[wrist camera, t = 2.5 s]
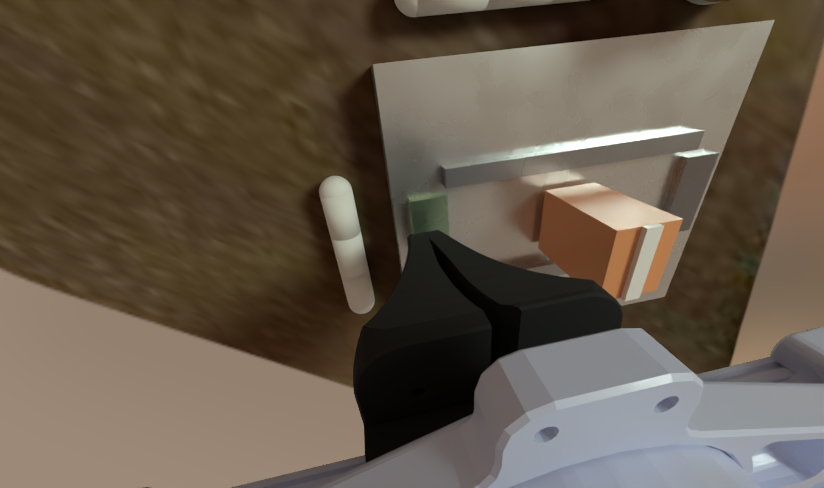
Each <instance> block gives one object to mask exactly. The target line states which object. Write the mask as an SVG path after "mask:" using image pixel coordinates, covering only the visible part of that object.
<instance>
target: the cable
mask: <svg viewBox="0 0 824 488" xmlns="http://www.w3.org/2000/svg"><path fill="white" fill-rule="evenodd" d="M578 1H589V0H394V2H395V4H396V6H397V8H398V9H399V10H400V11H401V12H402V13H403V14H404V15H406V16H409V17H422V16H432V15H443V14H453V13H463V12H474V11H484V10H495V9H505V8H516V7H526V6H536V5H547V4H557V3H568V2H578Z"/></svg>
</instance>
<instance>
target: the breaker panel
mask: <svg viewBox="0 0 824 488" xmlns="http://www.w3.org/2000/svg"><path fill="white" fill-rule="evenodd" d="M774 21H775V20H769V21H760V22H751V23H742V24H733V25H724V26H715V27H706V28H697V29H688V30H679V31H670V32H661V33H652V34H642V35H633V36H624V37H615V38H606V39H597V40H588V41H579V42H570V43H561V44H552V45H543V46H534V47H525V48H516V49H507V50H498V51H489V52H480V53H471V54H462V55H452V56H443V57H434V58H425V59H416V60H407V61H398V62H389V63H380V64H373V65H372V66H371V72H372V79H373V86H374V93H375V99H376V106H377V113H378V120H379V127H380V134H381V141H382V148H383V155H384V161H385V168H386V175H387V182H388V189H389V196H390V203H391V210H392V217H393V223H394V230H395V237H396V244H397V251H398V258H399V265H400V272H401V274H402V272H403V268H404V265H405V262H406V258H407V253H408V243H407V237H408V236H409V235H411V234H416V233H422V232H428V231H434V230H440V231H441V232H443V233H445V234H446V235H448V236H450V237H451V238H453V239H455V240H456V241H458V242H460V243H461V244H463V245H465V246H467V247H468V248H470V249H472V250H474V251H476V252H478V253H480V254H482V255H485V256H487V257H489V258H492V259H494V260H497V261H500V262H502V263H505V264H508V265H511V266H515V267H518V268H522V269H526V270H530V271H534V272H539V273H544V274H549V275H555V276H561V277H569V276H568V275H567V274H566V273H565V272H564V271H563V270H562V269H561V268H559V267H558V266H557V265H556V264H555V263H554V262H553V261H552V260H551V259H549V258H548V257H547V256H546V255H545V254H544V253H543V252H542V251H541V250H539V249H538V245H539V237H540V229H541V220H542V212H543V204H544V196H545V190H551V189H557V188H563V187H569V186H575V185H582V184H588V183H594V182H595V183H597V184H600V185H602V186H605V187H607V188H610V189H612V190H614V191H617V192H619V193H622V194H624V195H626V196H629V197H631V198H634V199H636V200H639V201H641V202H643V203H646V204H648V205H651V206H653V207H656V208H658V209H660V210H663V211H665V212H668V213H670V214H673V215H675V216H677V217H680V218H682V219H683V221H682V224H681V226H680V229H679V232H678V234H677V237H676V240H675V242H674V245H673V248H672V250H671V253H670V256H669V258H668V261H667V264H666V266H665V269H664V271H663V274H662V277H661V279H660V282H659V285H658V287H657V290H656V291H652V292H647V293H642V294H641V295H640V298H638V299H633V300H629V301H624V300H622V299H621V298H618V299H616V300H617V301H618V302H619V304H620V305H621V306H622V305H627V304H632V303H636V302H641V301H646V300H651V299H656V298H660V297H665V294H666V292H667V289H668V287H669V284H670V282H671V279H672V277H673V274H674V272H675V269H676V267H677V264H678V262H679V259H680V257H681V254H682V252H683V249H684V247H685V244H686V242H687V239H688V237H689V234H690V232H691V229H692V227H693V224H694V222H695V219H696V217H697V214H698V212H699V209H700V207H701V204H702V202H703V199H704V197H705V194H706V191H707V189H708V186H709V184H710V181H711V179H712V176H713V174H714V171H715V169H716V166H717V164H718V161H719V159H720V156H721V154H722V151H723V149H724V146H725V144H726V141H727V139H728V136H729V134H730V131H731V129H732V126H733V124H734V121H735V119H736V116H737V114H738V111H739V109H740V106H741V104H742V101H743V99H744V96H745V94H746V91H747V89H748V86H749V84H750V81H751V79H752V76H753V74H754V71H755V68H756V66H757V63H758V61H759V58H760V56H761V53H762V51H763V48H764V46H765V43H766V41H767V38H768V36H769V33H770V31H771V28H772V26H773V23H774Z"/></svg>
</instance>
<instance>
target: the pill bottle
mask: <svg viewBox="0 0 824 488" xmlns="http://www.w3.org/2000/svg"><path fill="white" fill-rule="evenodd" d="M687 1H689V2H691V3H694V4H698V5H709V4H714V3H719V2H723V1H728V0H687Z"/></svg>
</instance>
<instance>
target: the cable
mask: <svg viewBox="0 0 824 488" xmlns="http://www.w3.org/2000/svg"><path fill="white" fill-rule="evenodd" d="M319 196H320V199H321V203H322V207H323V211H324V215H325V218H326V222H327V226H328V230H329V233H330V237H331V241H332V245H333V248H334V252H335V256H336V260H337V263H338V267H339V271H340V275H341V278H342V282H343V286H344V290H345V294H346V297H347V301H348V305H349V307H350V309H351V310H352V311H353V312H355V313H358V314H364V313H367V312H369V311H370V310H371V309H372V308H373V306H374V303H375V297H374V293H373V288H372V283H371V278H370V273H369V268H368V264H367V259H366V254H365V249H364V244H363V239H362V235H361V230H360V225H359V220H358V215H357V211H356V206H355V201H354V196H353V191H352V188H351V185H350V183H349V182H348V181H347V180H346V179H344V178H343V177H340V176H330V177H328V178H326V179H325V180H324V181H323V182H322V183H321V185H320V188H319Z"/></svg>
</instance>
